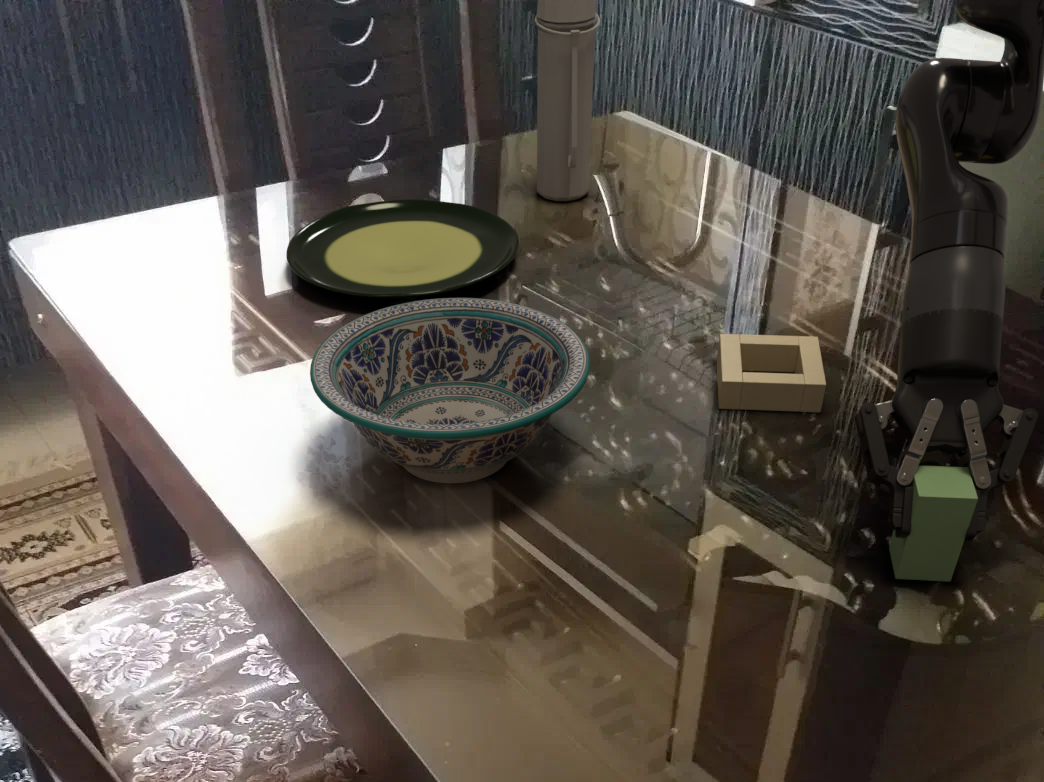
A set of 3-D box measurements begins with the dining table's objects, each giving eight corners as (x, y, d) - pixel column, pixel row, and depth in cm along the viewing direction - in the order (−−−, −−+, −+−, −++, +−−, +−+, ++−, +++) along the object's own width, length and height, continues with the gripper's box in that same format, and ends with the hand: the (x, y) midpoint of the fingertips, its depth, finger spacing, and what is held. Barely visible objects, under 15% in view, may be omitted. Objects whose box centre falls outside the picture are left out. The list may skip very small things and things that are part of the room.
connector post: (942, 549, 97) (968, 467, 91) (950, 581, 94) (978, 498, 88) (888, 547, 97) (911, 464, 91) (895, 579, 94) (919, 496, 88)
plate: (243, 263, 140) (239, 242, 139) (419, 199, 153) (417, 180, 151) (384, 339, 126) (382, 317, 124) (566, 262, 138) (567, 241, 136)
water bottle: (528, 186, 155) (528, -33, 137) (584, 180, 156) (592, -38, 138) (543, 212, 149) (545, -14, 131) (601, 206, 150) (612, -19, 132)
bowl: (272, 448, 111) (255, 355, 104) (471, 363, 121) (468, 273, 114) (432, 566, 97) (425, 467, 90) (641, 457, 108) (649, 362, 101)
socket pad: (812, 363, 119) (818, 336, 117) (820, 412, 112) (826, 384, 110) (716, 360, 120) (719, 333, 118) (718, 409, 114) (722, 381, 111)
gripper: (869, 301, 88) (853, 525, 88) (1064, 306, 86) (1047, 534, 87) (848, 335, 95) (833, 541, 96) (1027, 340, 94) (1011, 550, 94)
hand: (935, 536), depth 91 cm, fingers closed on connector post, 4 cm apart
